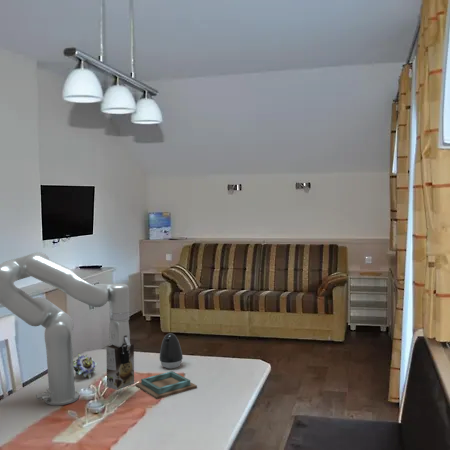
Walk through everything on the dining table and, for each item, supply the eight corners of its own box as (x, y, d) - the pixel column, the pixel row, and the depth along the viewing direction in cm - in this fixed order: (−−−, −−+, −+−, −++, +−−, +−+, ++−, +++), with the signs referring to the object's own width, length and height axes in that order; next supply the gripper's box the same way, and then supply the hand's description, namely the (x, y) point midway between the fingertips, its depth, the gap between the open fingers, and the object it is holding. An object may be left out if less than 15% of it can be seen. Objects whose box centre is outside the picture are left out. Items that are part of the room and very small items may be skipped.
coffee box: (117, 390, 207) (116, 349, 206) (106, 387, 211) (105, 346, 210) (135, 383, 215) (134, 343, 214) (124, 380, 219) (123, 340, 217)
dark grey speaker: (156, 370, 239) (154, 336, 238) (165, 362, 249) (164, 329, 248) (177, 371, 236) (176, 337, 235) (186, 363, 246) (184, 330, 245)
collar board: (156, 399, 206) (156, 391, 206) (135, 386, 221) (135, 379, 220) (196, 387, 216) (196, 380, 216) (174, 375, 231) (173, 369, 231)
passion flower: (89, 390, 233) (81, 373, 225) (69, 382, 237) (60, 366, 229) (104, 369, 240) (97, 352, 233) (84, 362, 245) (76, 345, 237)
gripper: (101, 313, 216) (102, 356, 217) (120, 321, 202) (120, 368, 203) (119, 310, 220) (119, 353, 222) (138, 319, 206) (139, 364, 207)
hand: (120, 360), depth 212 cm, fingers closed on coffee box, 7 cm apart
